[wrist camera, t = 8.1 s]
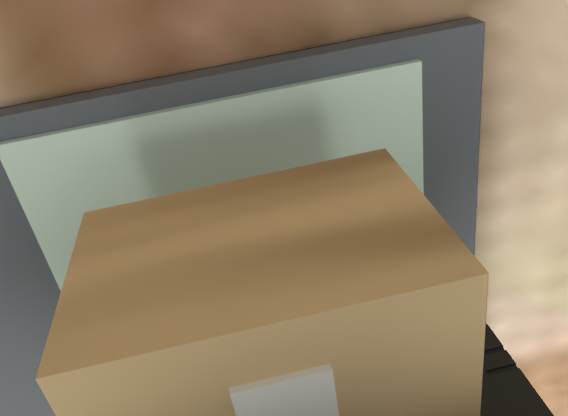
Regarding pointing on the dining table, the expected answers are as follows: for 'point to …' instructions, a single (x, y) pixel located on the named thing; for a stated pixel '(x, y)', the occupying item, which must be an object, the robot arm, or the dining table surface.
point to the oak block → (271, 302)
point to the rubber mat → (224, 153)
